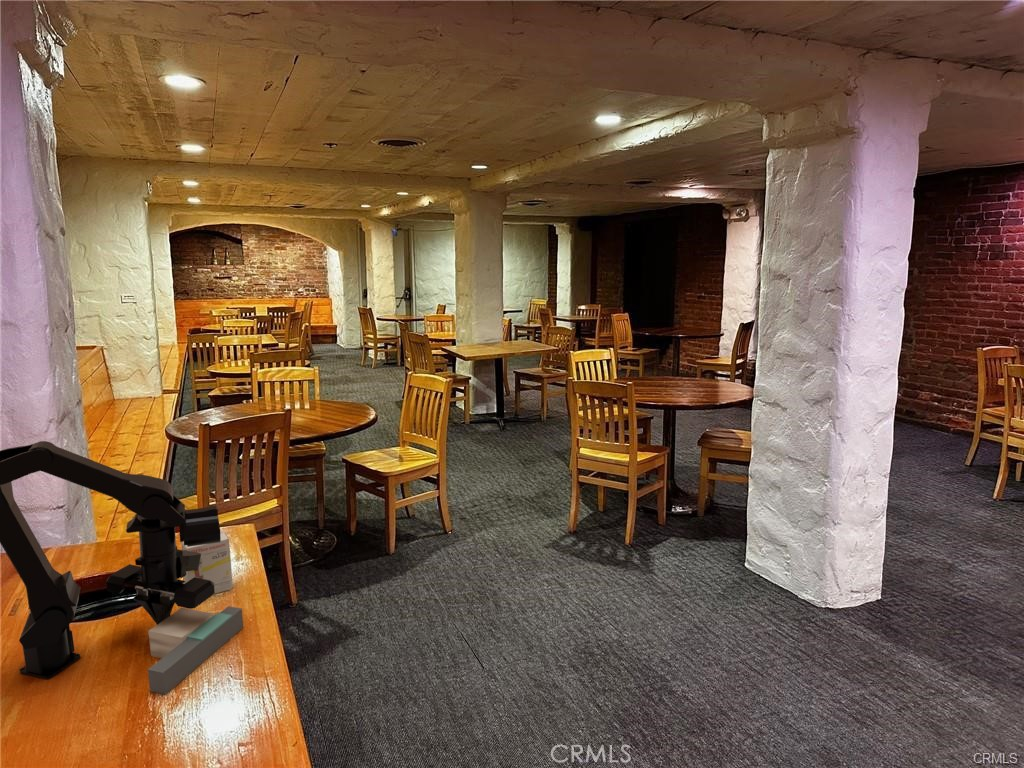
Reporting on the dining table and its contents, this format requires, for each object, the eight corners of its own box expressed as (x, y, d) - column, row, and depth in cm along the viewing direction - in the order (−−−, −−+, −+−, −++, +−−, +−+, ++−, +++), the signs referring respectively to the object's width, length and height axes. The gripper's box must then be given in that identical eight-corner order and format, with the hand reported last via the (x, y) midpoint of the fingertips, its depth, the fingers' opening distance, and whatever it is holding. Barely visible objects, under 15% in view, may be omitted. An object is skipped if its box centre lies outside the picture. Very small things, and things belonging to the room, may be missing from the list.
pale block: (184, 663, 116) (182, 637, 115) (151, 656, 118) (148, 631, 117) (215, 637, 124) (213, 613, 123) (183, 631, 126) (181, 607, 125)
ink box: (190, 601, 136) (184, 548, 133) (184, 591, 140) (179, 539, 137) (233, 589, 141) (229, 537, 138) (227, 579, 145) (223, 529, 142)
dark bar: (165, 694, 108) (163, 670, 107) (149, 691, 109) (147, 667, 108) (243, 627, 127) (242, 606, 126) (229, 625, 128) (227, 604, 127)
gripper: (232, 539, 125) (235, 614, 128) (148, 524, 129) (153, 596, 132) (190, 566, 114) (194, 647, 117) (101, 548, 118) (107, 627, 122)
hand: (163, 627), depth 123 cm, fingers closed
